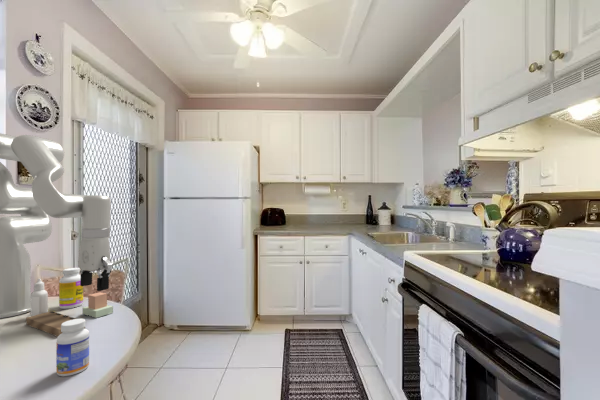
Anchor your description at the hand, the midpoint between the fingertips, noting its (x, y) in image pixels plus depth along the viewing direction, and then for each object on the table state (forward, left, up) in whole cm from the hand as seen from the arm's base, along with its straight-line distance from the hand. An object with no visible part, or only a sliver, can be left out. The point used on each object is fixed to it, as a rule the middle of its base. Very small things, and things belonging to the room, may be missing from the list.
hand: (94, 287), depth 95 cm
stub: (+1, 0, -8) cm, 8 cm away
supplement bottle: (-16, +1, -8) cm, 18 cm away
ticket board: (+1, -11, -8) cm, 14 cm away
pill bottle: (+33, -20, -8) cm, 40 cm away
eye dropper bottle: (-13, -9, -8) cm, 18 cm away
